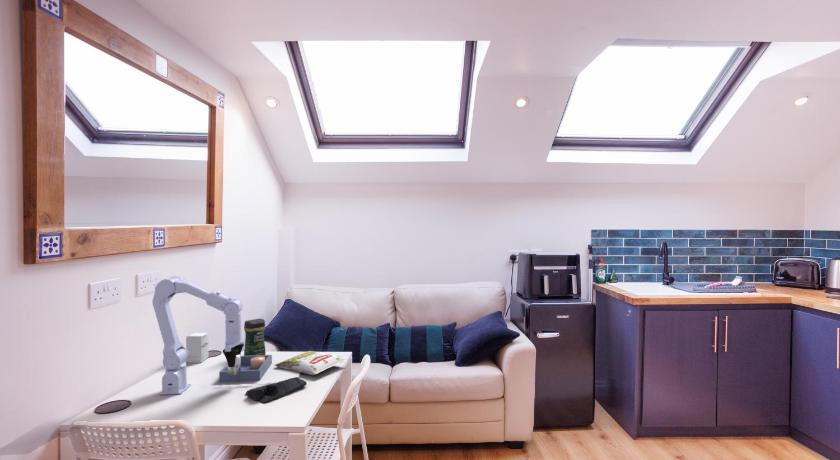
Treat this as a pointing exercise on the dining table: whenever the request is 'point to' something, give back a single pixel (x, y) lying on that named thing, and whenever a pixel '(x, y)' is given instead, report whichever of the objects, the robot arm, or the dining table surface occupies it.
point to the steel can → (237, 367)
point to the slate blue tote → (247, 370)
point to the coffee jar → (254, 337)
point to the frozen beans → (310, 362)
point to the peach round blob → (257, 362)
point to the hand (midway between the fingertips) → (233, 364)
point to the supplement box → (197, 347)
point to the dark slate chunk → (275, 390)
